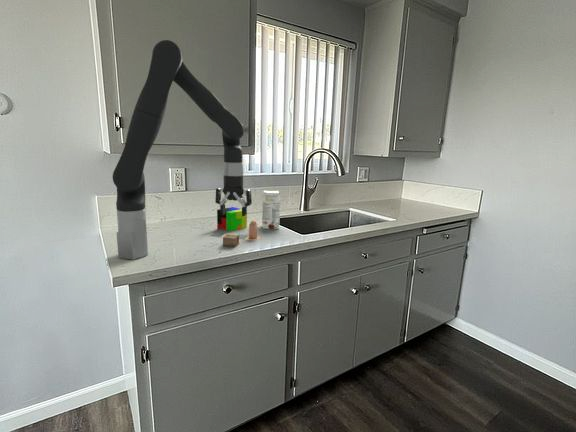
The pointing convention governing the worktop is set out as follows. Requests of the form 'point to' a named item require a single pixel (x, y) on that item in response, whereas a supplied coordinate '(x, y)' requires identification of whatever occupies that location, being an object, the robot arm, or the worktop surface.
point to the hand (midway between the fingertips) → (233, 215)
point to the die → (230, 240)
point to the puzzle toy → (231, 219)
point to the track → (218, 234)
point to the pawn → (253, 230)
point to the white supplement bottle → (271, 209)
